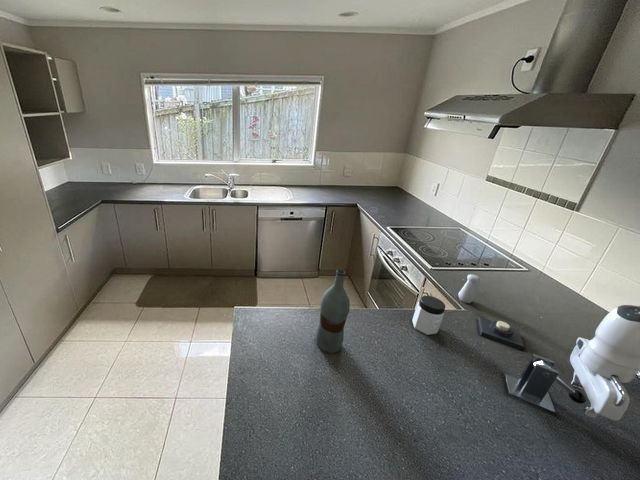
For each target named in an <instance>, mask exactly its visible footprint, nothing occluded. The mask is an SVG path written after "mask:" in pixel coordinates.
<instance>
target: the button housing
mask: <svg viewBox="0 0 640 480" xmlns="http://www.w3.org/2000/svg"><path fill="white" fill-rule="evenodd" d="M498 321H499V320H490V319H487V318H484V317H481V316H479V318H478V320H477V322H478V323H477V324H478V330H479V336H480V337H482V338H486V339H488V340H491V341H494V342H497V343H499V344H502V345H505V346H508V347H510V348H514V349H516V350H519V351H523V350H524V348H525V345H524V341H523V339H522V336H521V333H520V329H518V328H514V327H513V326H512V327H511V326H510V328H509V330H508V331H503V330H501V329H499V328H497V327H496V324H497V322H498Z"/></svg>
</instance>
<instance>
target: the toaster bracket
mask: <svg viewBox="0 0 640 480" xmlns="http://www.w3.org/2000/svg"><path fill="white" fill-rule="evenodd" d="M540 360H543V361H544V362H545V363H546V364H548V365H549V366H550V367H551V368H549V367H546V366H543V365H540V364H538V363H536V365H535V367H534V364H533V363H534V362H537V361H540ZM555 363H556V362H555V360H553V359H550V358H547V357H544V356H541V355H538V354H535V353H533V354H532V355H531V357H530V359H529V361H528V362H527V364H526V365H525V368H524V370H523V371H522V373H521V374H520V377H519V378H517V377H515V376H512V375H509V374H507V373H504V377H505V381H506V387H507V390H508V394H509V395H511V396H514V397H516V398H519V399H521V400H523V401H526V402H528V403H530V404H533V405H535V406H537V407H540V408H543V409H545V410H547V411H550V412H552V413H554V414H556V410H555V407H554V404H553V401H552V398H551V396H550V393H549V390H550V388H551V387H552V386H553V384H554V383H555V382H556V381H555V379H556V378H557V377H559V375H560V372H559V370H556V369H554V368H553V367H554V366H555Z"/></svg>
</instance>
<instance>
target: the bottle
mask: <svg viewBox="0 0 640 480" xmlns="http://www.w3.org/2000/svg"><path fill="white" fill-rule="evenodd" d="M335 272H336V273H335V279H334V284H333V285H331V286H330V287H329V288H328V289H326V290H325V291H324V293H323V295H322V297H321V299H320V300H321V301H320V312H319V321H318V324H317V328H316V331H315V343H316V345H317V347H318V348H319V349H320V350H321V351H323V352H325V353H328V354H329V353H330V354H331V353H337V352H339V350H340V349H341V347H342V345H343V343H344V335H345V334H344V332H345V325H346V322H347V319H348V316H349V313H350V306H351V303H350V297H349V295H348V293H347V291H346V289H345V287H344V283H345V282H344V281H345V276H346V270H344V269H341V268H338V269H337V270H336V271H335Z"/></svg>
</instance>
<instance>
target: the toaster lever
mask: <svg viewBox="0 0 640 480" xmlns="http://www.w3.org/2000/svg"><path fill="white" fill-rule="evenodd" d="M536 363H538V364H540V365H543V366H546V367H549V368H551V367H550V366H549V365H548V364H546V363H545V362H544V361H543V360H540V361H537V362H534V363H533V364H534V367H535V365H536ZM551 369H552V368H551ZM554 382H555V383H557V384H558V385H559V386H560V387H561V388H563V389H564V390H565V391H566V392H568V397H569V398H570V400H571V401H572V402H574V403H577V404H585V403H586V402H587V397H586V396H587V395H586V394H584V393H583V392H582V391H581V390H578V389H573V388H572V387H570V386H569V385H568V384H567V383H565V382H564V380H563V379H561V378H559V376H557V378H556V379H555V381H554Z"/></svg>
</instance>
